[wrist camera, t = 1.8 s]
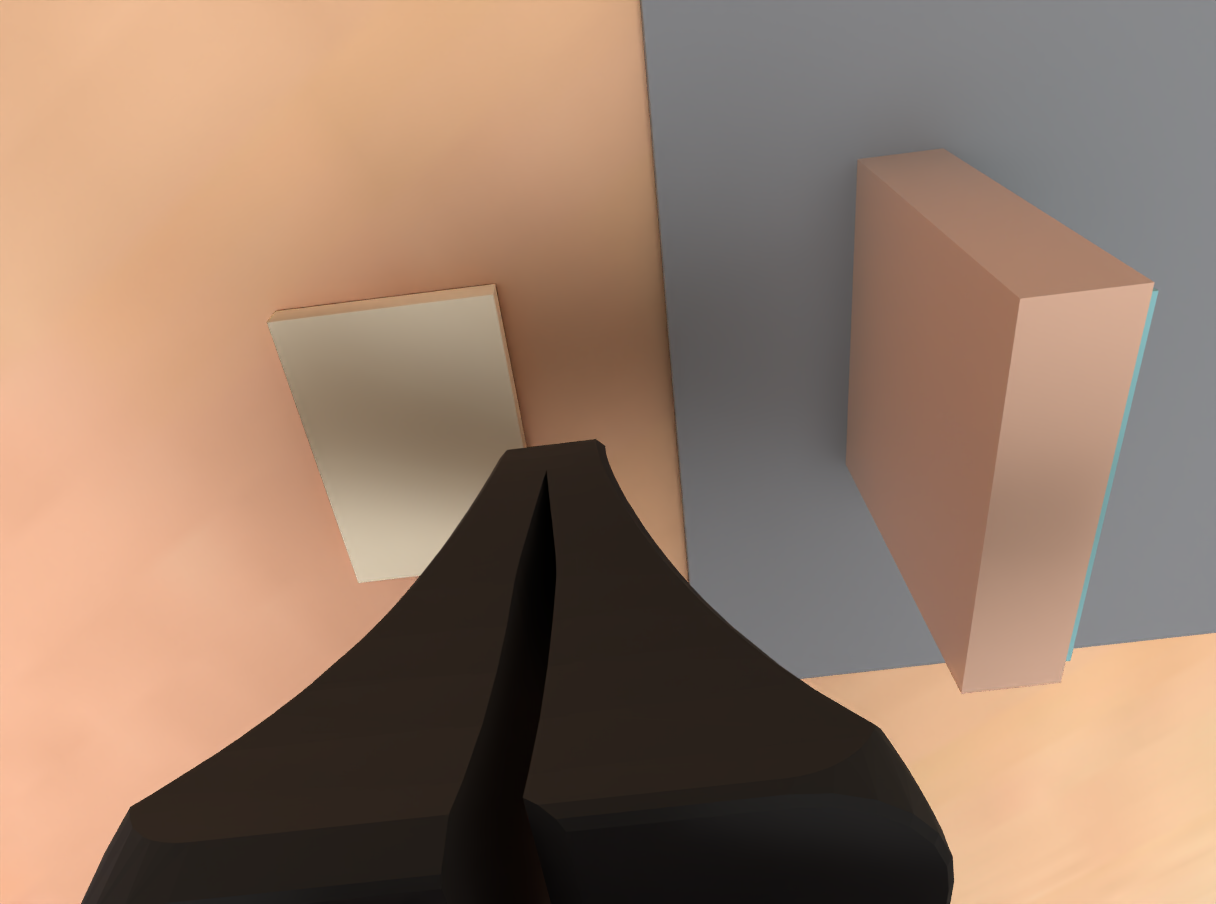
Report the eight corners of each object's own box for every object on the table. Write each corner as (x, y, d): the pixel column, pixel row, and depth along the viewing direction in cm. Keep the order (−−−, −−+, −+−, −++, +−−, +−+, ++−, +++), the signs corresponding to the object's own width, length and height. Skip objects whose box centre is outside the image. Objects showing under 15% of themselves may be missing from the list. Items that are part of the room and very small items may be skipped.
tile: (926, 454, 17) (1074, 681, 12) (846, 463, 17) (961, 693, 12) (955, 146, 14) (1173, 279, 9) (857, 159, 14) (1020, 298, 9)
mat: (1368, 602, 21) (1381, 614, 20) (696, 677, 21) (699, 690, 21) (1866, -457, 11) (1908, -469, 11) (616, -281, 11) (618, -287, 11)
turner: (587, 758, 22) (587, 791, 22) (434, 774, 22) (429, 808, 22) (494, 284, 15) (491, 305, 15) (274, 311, 16) (258, 334, 15)
